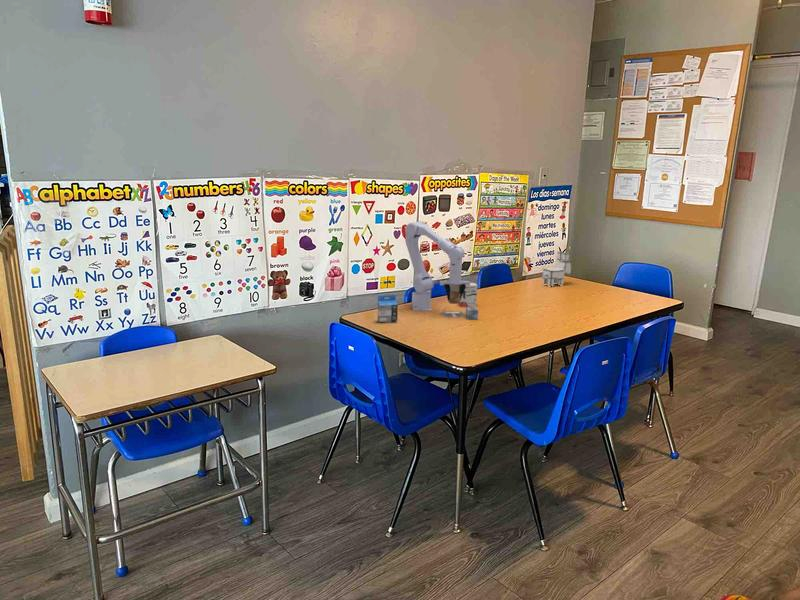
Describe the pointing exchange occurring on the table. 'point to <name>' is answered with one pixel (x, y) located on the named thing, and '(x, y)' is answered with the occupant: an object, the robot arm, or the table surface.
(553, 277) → the toy llama
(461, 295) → the robot arm
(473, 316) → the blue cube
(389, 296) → the label tape box
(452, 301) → the walnut block
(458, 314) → the letter card
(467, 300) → the ink box
